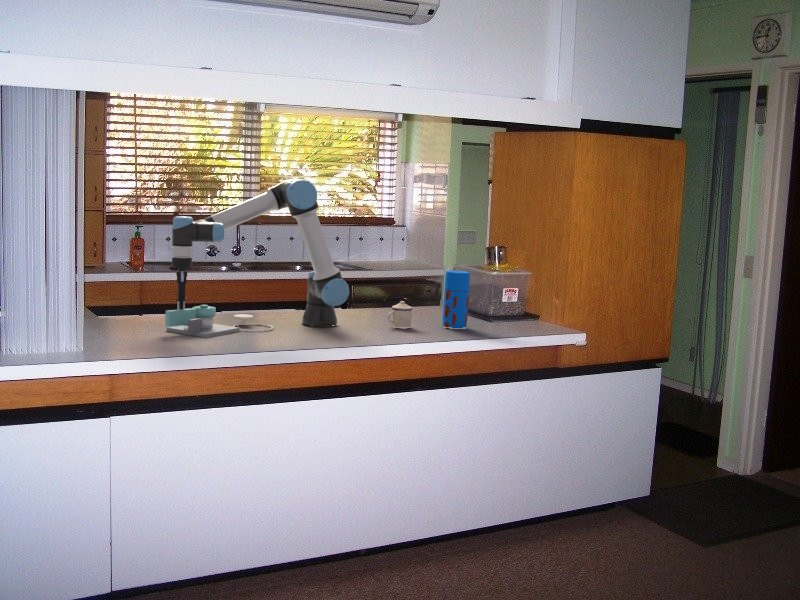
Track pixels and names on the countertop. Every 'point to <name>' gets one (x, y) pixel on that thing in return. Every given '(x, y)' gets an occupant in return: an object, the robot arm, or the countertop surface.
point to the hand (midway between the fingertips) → (180, 317)
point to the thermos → (456, 299)
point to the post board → (202, 328)
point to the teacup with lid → (400, 315)
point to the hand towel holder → (246, 316)
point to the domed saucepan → (188, 315)
